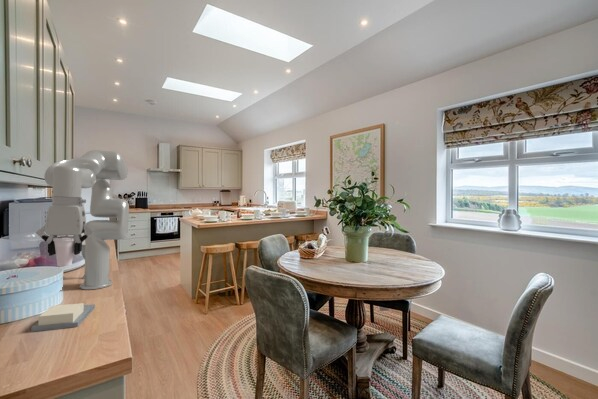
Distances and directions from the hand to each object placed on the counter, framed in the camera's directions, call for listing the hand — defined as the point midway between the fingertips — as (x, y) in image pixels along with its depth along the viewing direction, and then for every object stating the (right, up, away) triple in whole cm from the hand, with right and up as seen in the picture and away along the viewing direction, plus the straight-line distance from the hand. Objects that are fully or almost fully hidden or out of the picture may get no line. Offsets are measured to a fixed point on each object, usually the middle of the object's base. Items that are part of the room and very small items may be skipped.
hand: (64, 253), depth 93 cm
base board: (-2, -23, +3) cm, 24 cm away
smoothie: (0, -4, 0) cm, 4 cm away
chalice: (-30, -23, +49) cm, 61 cm away
